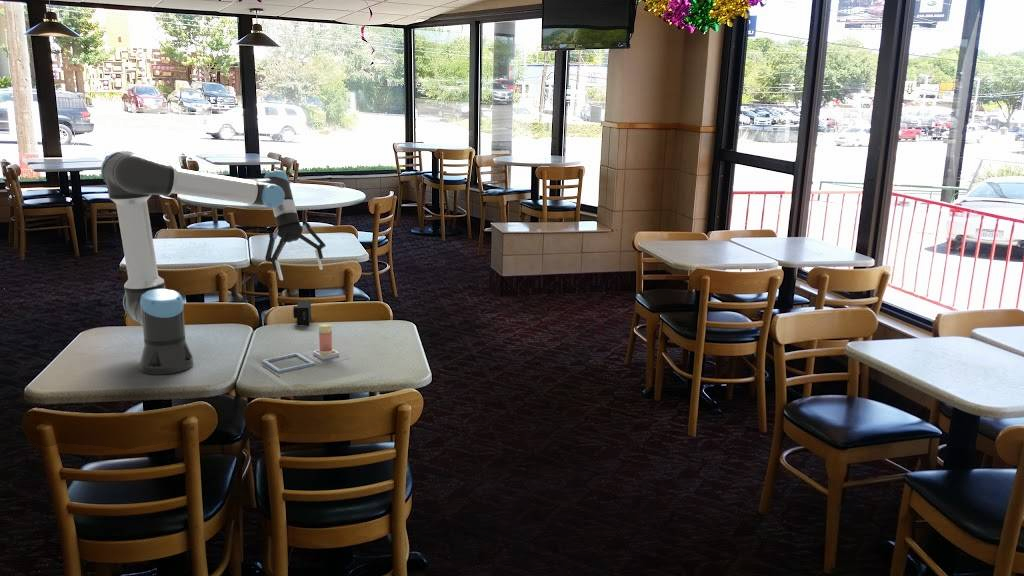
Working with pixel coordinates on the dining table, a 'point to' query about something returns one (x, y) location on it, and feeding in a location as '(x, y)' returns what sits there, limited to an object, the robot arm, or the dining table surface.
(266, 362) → the tray
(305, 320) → the digital camera
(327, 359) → the white rectangular frame
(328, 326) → the fuse
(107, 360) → the dining table surface
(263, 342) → the dining table surface
